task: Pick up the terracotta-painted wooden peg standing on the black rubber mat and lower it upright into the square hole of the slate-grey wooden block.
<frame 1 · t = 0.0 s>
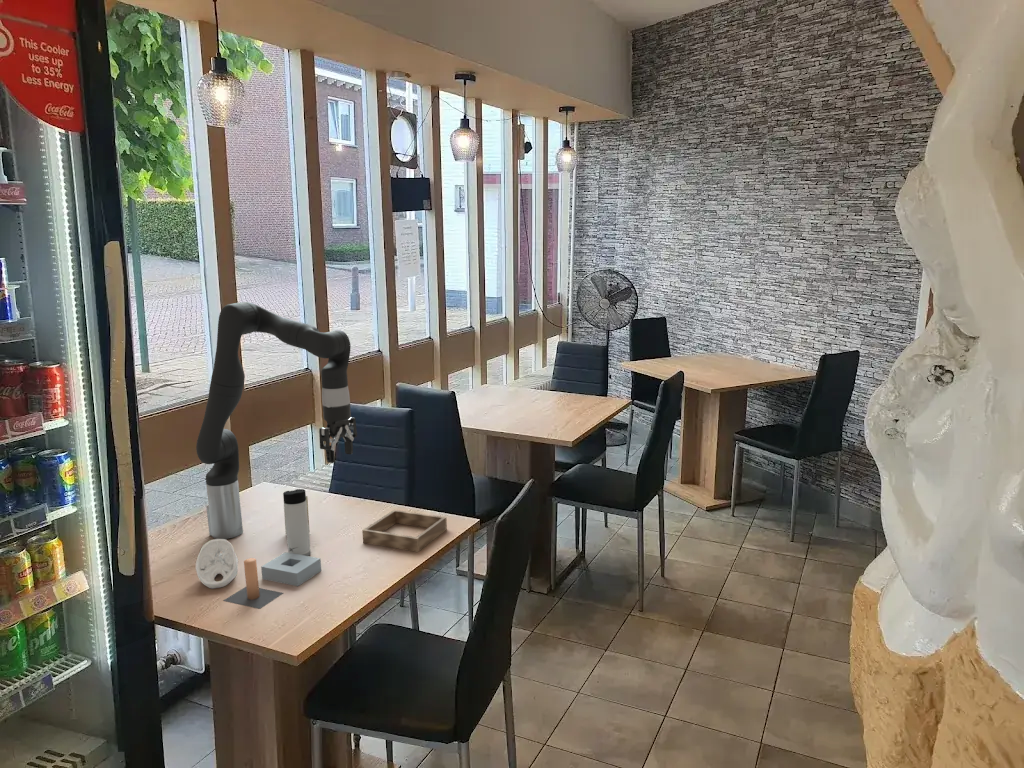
hand: (340, 458, 217), 29 cm above the table, fingers open, 8 cm apart
square wooden frame: (405, 535, 236), on the table
block: (292, 576, 210), on the table
travel mug: (299, 555, 224), on the table
peg: (253, 596, 198), resting on mat
skincare box: (298, 534, 240), on the table
mat: (253, 598, 198), on the table
skull bowl: (220, 581, 209), on the table
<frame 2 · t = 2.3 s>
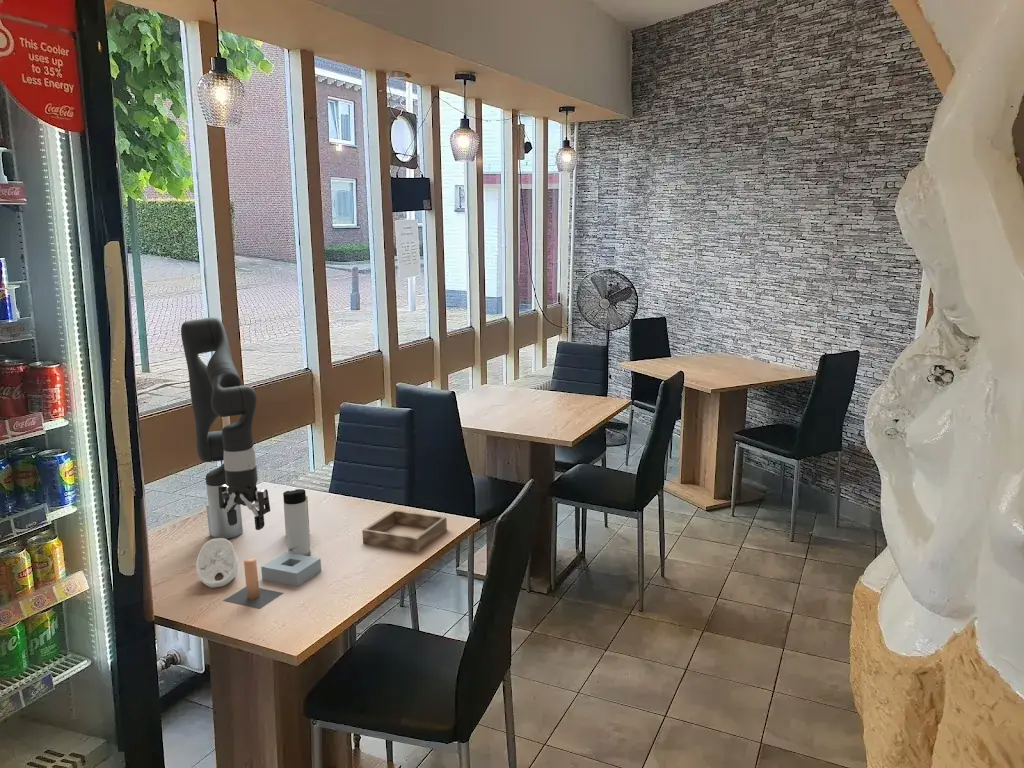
hand: (246, 526, 194), 20 cm above the table, fingers open, 8 cm apart
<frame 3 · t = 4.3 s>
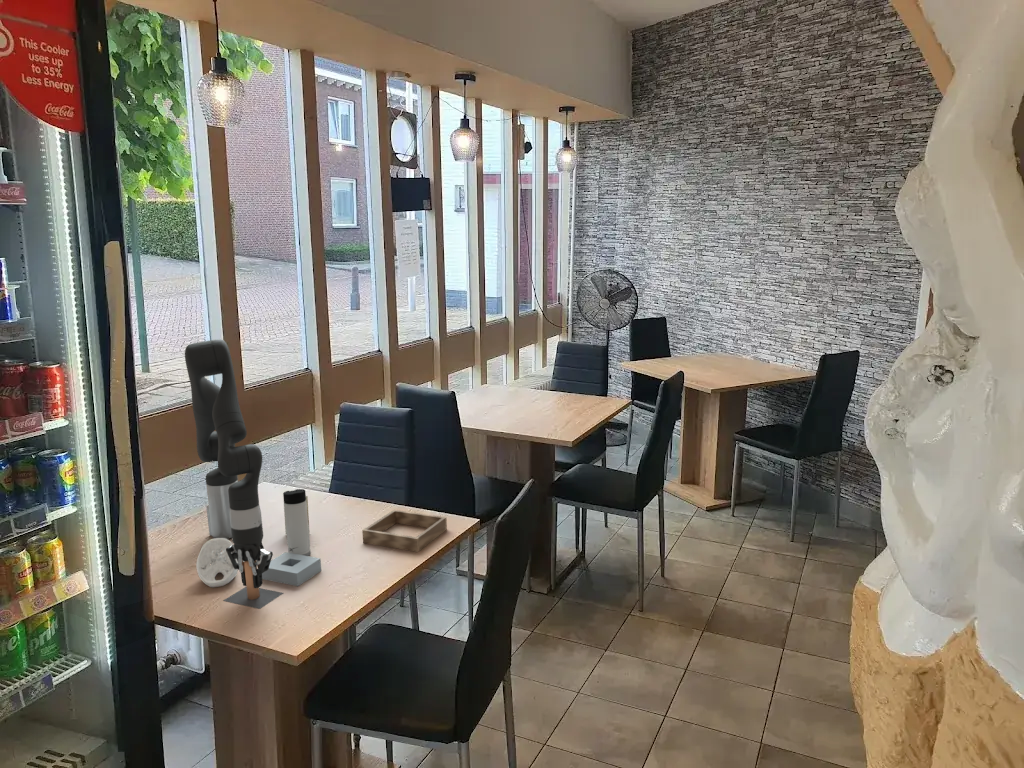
hand: (252, 585, 197), 4 cm above the table, fingers closed on peg, 3 cm apart
peg: (253, 596, 198), resting on mat, touching gripper
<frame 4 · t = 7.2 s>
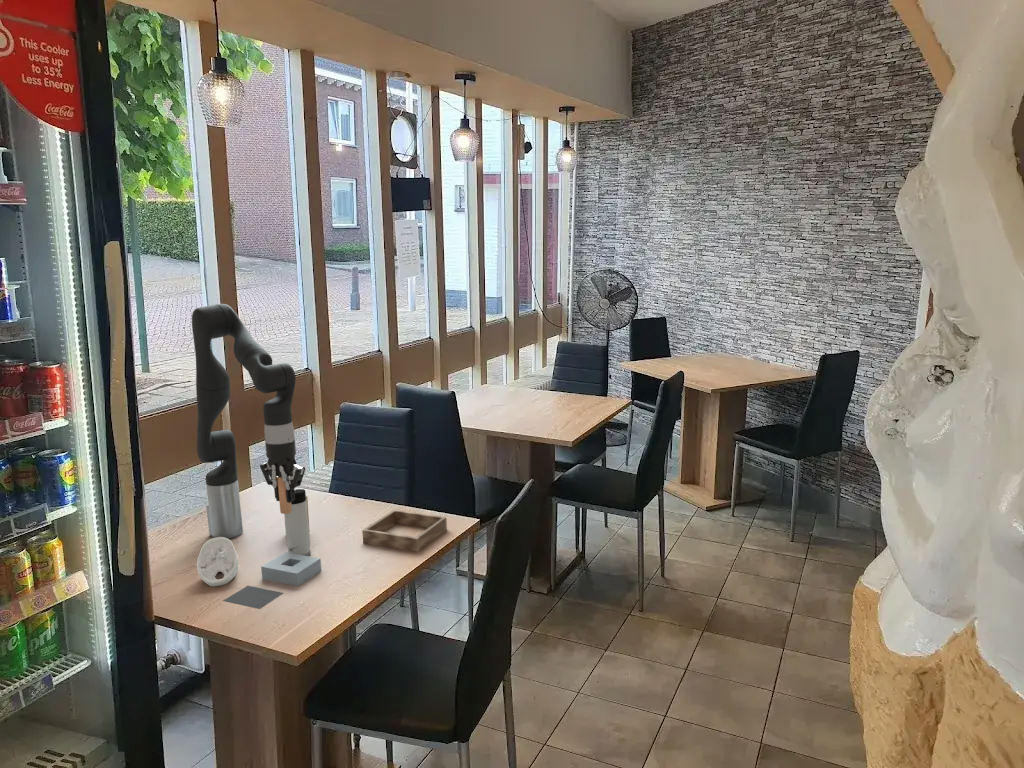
hand: (285, 500, 206), 22 cm above the table, fingers closed on peg, 3 cm apart
peg: (286, 511, 206), point 19 cm above the table, touching gripper
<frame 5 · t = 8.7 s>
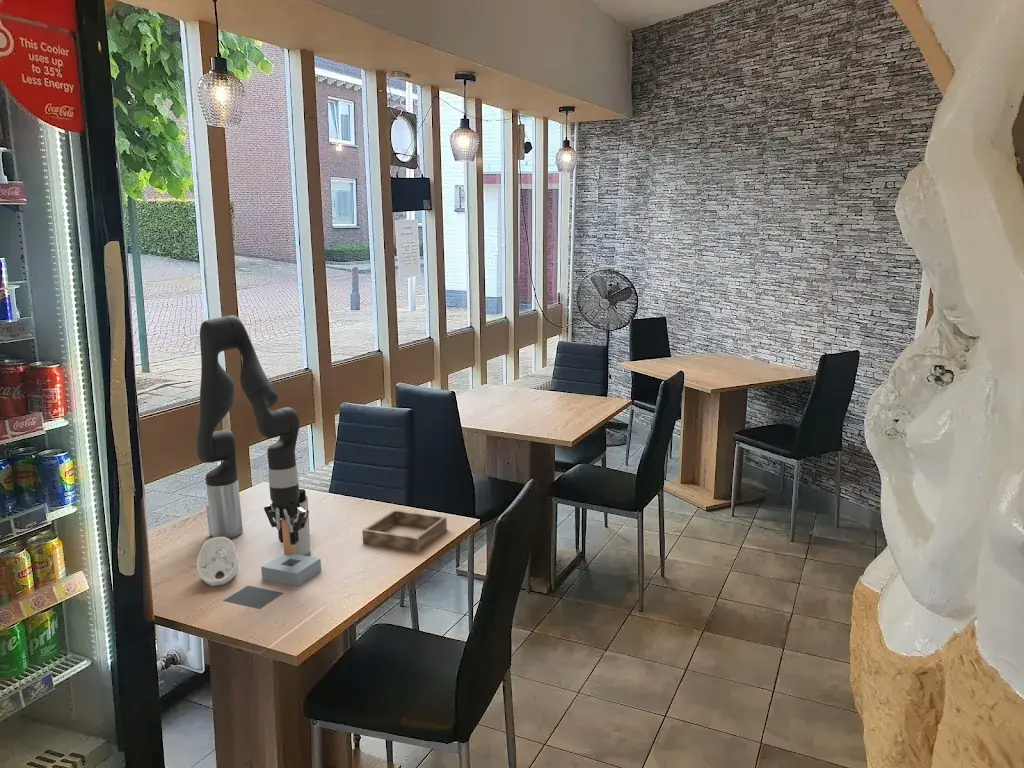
hand: (289, 542, 208), 10 cm above the table, fingers closed on peg, 3 cm apart
peg: (290, 553, 209), point 7 cm above the table, touching gripper
when the fingers open (5 cm above the table, at t = 10.0 s): peg drops 2 cm, resting in block.
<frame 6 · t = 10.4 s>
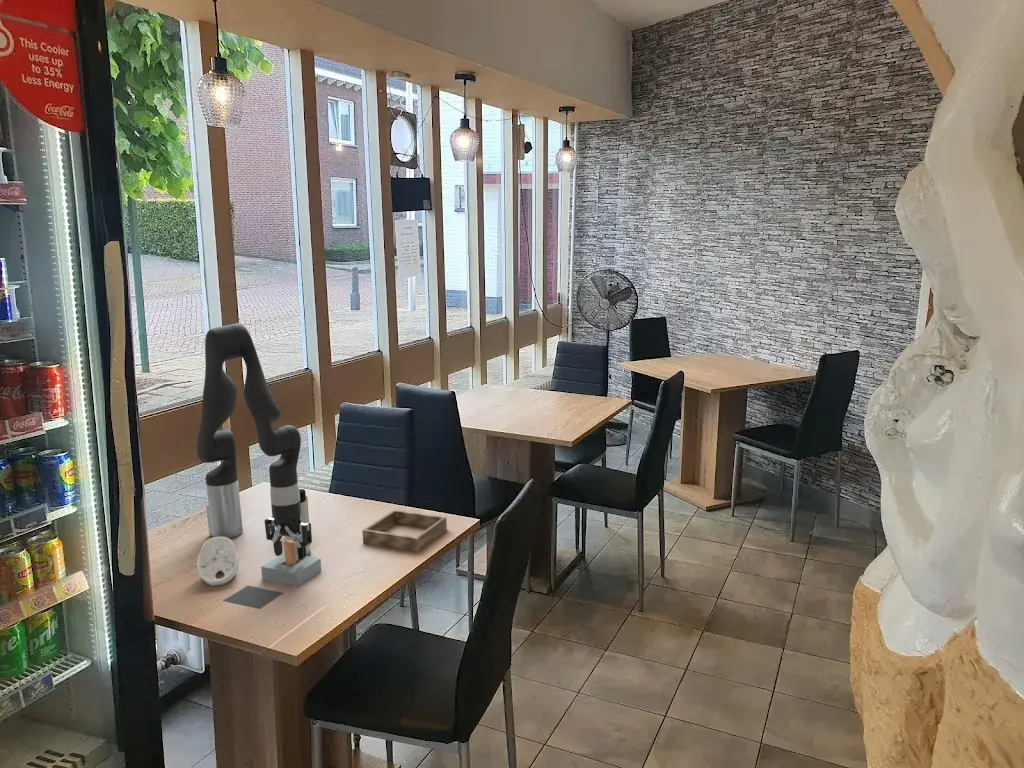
hand: (290, 556, 209), 6 cm above the table, fingers open, 7 cm apart
peg: (292, 576, 210), resting in block
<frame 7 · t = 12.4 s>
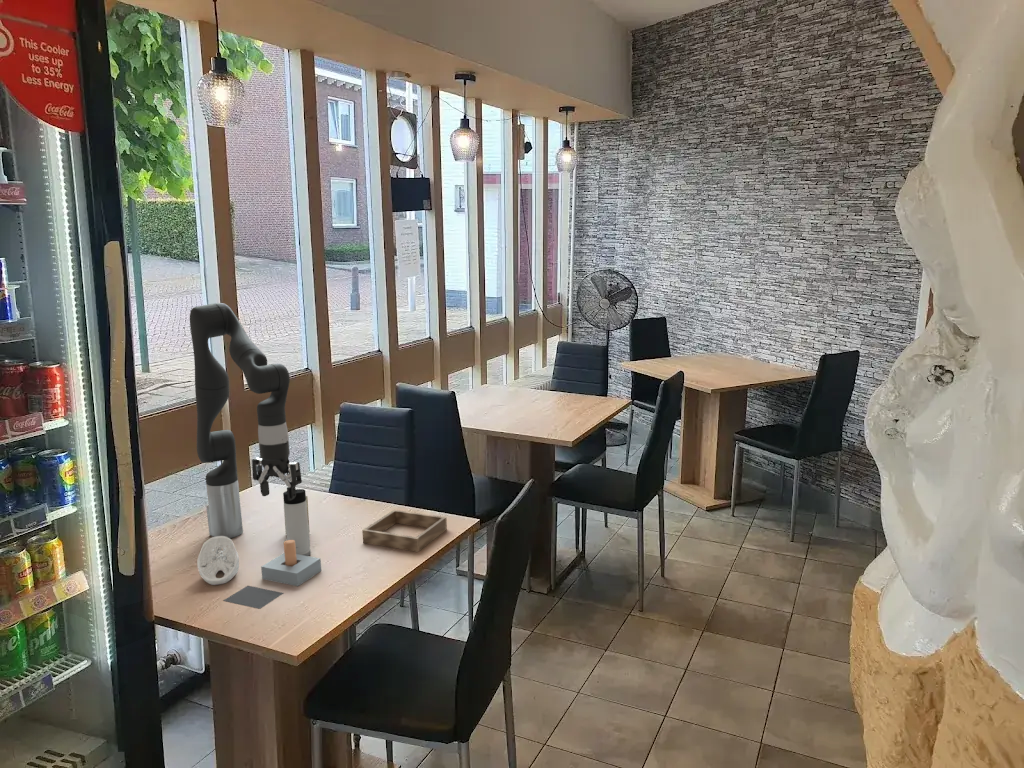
hand: (278, 497, 206), 23 cm above the table, fingers open, 8 cm apart
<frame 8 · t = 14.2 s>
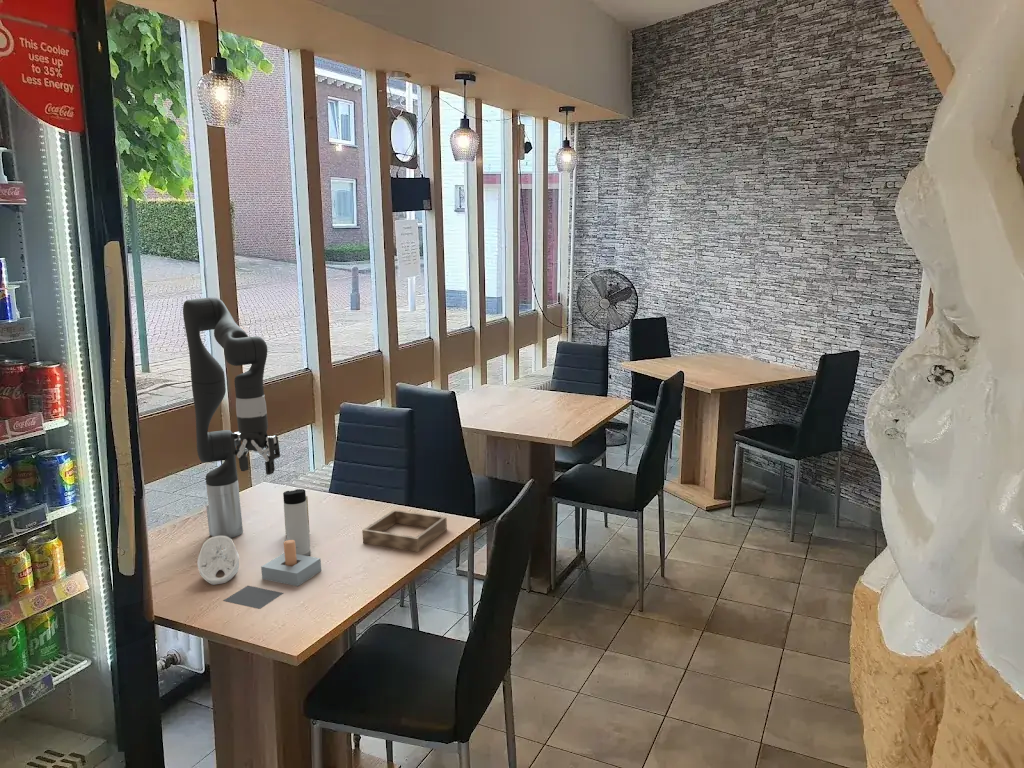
hand: (257, 472, 204), 30 cm above the table, fingers open, 8 cm apart
at the end: peg 0.0 cm off-centre on the block, point 0.0 cm above the block's base; peg tilted 0°; the gripper is holding nothing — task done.
